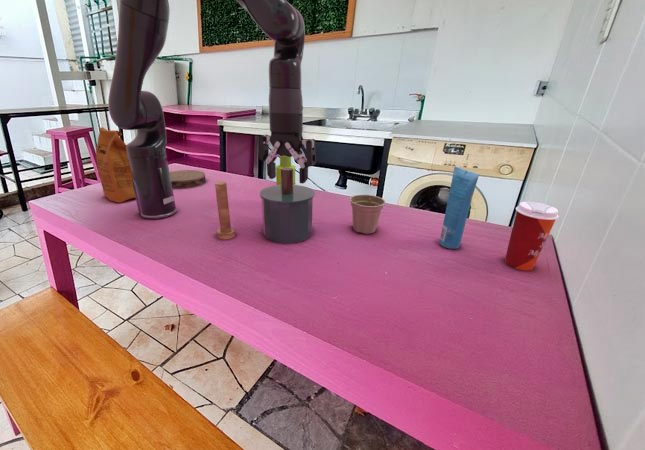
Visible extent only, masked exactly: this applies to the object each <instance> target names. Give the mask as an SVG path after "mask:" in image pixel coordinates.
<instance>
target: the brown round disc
mask: <svg viewBox="0 0 645 450" xmlns="http://www.w3.org/2000/svg"><path fill="white" fill-rule="evenodd" d="M169 172H170V177H171V183H172V189H173V190H175V189H177V190H178V189H179V190H180V189H189V188H190V189H191V188H196V187H200V186H202V185H205V183H206V182H207V180H206V172H204V171H202V170H194V169H185V170H181V169H180V170H174V171H169Z"/></svg>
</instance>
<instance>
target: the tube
mask: <svg viewBox="0 0 645 450" xmlns="http://www.w3.org/2000/svg"><path fill="white" fill-rule="evenodd" d="M479 178H480V174H479V173H476V172H473V171H469V170H466V169H463V168H461V167H457V166H454V167H453V171H452V178H451V183H450V186H449V187H450V188H449V192H448V198H447V203H446V208H445V213H444V217H443V223H442V226H441V232H440V236H439V241H438V243H439V245H440V246H441V247H443V248H445V249H451V250H457V249H459V248H460V247H461V243H462V240H463V239H462V238H463V235H464V231H465V227H466V223H467V219H468V216H469V211H470V207H471V205H472V200H473V197H474V194H475V190H476V186H477V183H478V180H479Z"/></svg>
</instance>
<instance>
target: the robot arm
mask: <svg viewBox="0 0 645 450" xmlns="http://www.w3.org/2000/svg"><path fill="white" fill-rule="evenodd" d="M235 1H236V3H238V4H239V5H240V6H241V7H242V8H243V9H244V10H245V11H246V12H247V13H248V14H249V16H250V17H251V18H252V20H253V21H254V23H255V24H256V25H257V26H258V28H259V29H260V30H261V31H262V32H263V33H264V35H266V36H267V37H268V38H269V39H270V40H272V41H274V47H273V57H272V58H271V59H270V60H269V62H268V88H269V89H268V90H269V91H268V116H269V119H268V120H269V131H270V135H269V134H266V133H265V134H261V135H259V136H258V158H259V161H263V162H265V163H266V172H267V173H266V174H267V177H268V179H271V180H274V179H276V166H277V164H276V162H275V161H276V160H277V158H278V157H280V156H284V155H285V156H287V157H291V158H293V160H294V161H295V162H297V164H298V165H299V167H300V168H298V169H299V170H298V171H299V173H298V174H299V175H298V178H299V179H298V180H299V181H298V182H299V184H301V185H302V184H305V183H306V182H307V181H308V180H309V167H313V166H315V165H316V164H317V152H316V140H315V139H314V138H309V139H306V138H305V139H304V137H303V132H304V131H303V129H304V127H303V126H304V125H303V123H304V122H303V121H304V119H303V118H304V117H303V115H304V113H303V111H304V103H303V101H304V100H303V91H302V62H303V57H304V50H305V42H306V28H305V27H306V25H305V20H304V18H303V15H302V14H301V12H300V11H299V10H298V9H297V8H295V6H293V5H292V4H291V3H289V1H287V0H235ZM169 22H170V3H169V0H119V8H118V25H117V26H118V29H117V42H116V50H115V51H116V52H115V60H114V67H113V73H112V77H111V82H110V88H109V93H108V100H107V102H108V103H107V106H108V113H109V116H110V118H111V120H112V122H113V124H114V125H115V126H116V127H117V128H118V129H121V130H125V131H136V135H135V137H134V138H133V139H132V140H131V141H130V142H128V143H127V144H126V145H127V146H126V151H127V155H128V159H129V164H130V168H131V172H132V176H133V181H134V182H133V183H132V184H133V189H134V193H135V197H136V198H135V202H136V205H137V210H138V214H139V215H140V217H142V218H143V219H147V220H148V219H149V220H157V219H164V218H167V217H171V216H173V215H175V214H176V213H177V211H178V210H177V206H176V201H175V194H174V189H173V188H172V183H171V177H170V172H171V171H170V167H169V161H168V155H167V151H166V148H167V144H168V137H167V130H166V120H165V114H164V109H163V106H162V104H161V101H160V100H159V98H158V97H157V96H156V95H155V94H154V93H153V92H151V91H148V90H143V84H144V80H145V78H146V75H147V73H148V72H149V70H150V68H151V67H152V66H153V64H154V62H155V61H156V60H157V58H158V57H159V55H160V54H161V52H162V50H163V49H164V47H165V44H166V41H167V36H168V28H169ZM270 144H271V146H272V148H271V150H270ZM303 146H304V149H305V150H306V152H304V151H303V149H302V147H303ZM269 150H270V151H269ZM305 153H306V154H305Z"/></svg>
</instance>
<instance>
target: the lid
mask: <svg viewBox="0 0 645 450" xmlns="http://www.w3.org/2000/svg"><path fill="white" fill-rule="evenodd" d="M315 192H316V191H315V190H314V189H312V188H310V187H309V186H305V185H300V184H295V185H293V168H289V167H285V168H281V185H272V186H267V187H264V188H262V189H260V191H259V197H260V199H261V198H262V199H264V200H266V201H269V202H274V203H283V204H290V203H300V202H305V201H308V200H310V199H312V198H313V199H314V198H315V196H316V193H315Z"/></svg>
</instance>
